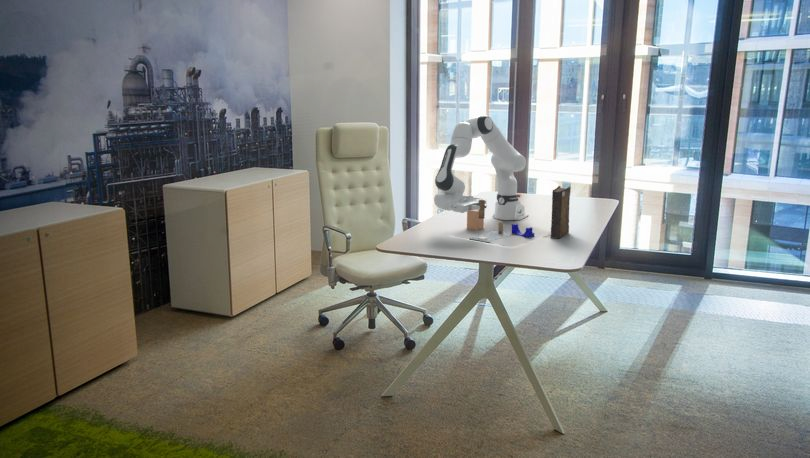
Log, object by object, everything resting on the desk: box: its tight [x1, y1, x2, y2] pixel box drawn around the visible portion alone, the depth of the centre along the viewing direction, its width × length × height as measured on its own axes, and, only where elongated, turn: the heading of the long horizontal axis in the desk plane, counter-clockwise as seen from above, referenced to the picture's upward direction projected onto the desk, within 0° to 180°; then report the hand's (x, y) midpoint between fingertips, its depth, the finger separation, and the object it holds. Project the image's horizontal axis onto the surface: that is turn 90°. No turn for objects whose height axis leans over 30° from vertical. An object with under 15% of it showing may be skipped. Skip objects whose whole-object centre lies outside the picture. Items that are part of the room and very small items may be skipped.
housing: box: [466, 210, 485, 231], centre depth 346 cm, size 6×6×11 cm
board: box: [469, 220, 513, 244], centre depth 329 cm, size 22×12×7 cm, turn 138°
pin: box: [478, 199, 486, 219], centre depth 321 cm, size 3×3×9 cm
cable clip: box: [511, 223, 535, 239], centre depth 330 cm, size 12×4×6 cm, turn 34°
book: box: [550, 185, 571, 239], centre depth 331 cm, size 17×7×25 cm, turn 146°
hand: (483, 207), depth 320 cm, fingers closed on pin, 3 cm apart
